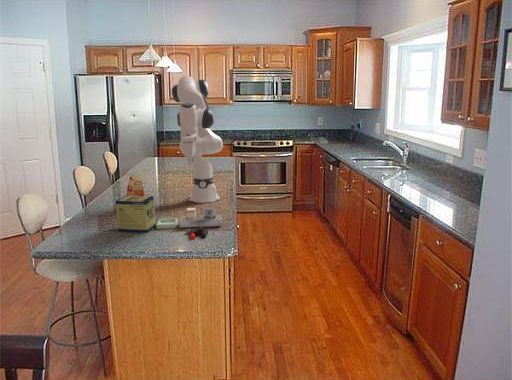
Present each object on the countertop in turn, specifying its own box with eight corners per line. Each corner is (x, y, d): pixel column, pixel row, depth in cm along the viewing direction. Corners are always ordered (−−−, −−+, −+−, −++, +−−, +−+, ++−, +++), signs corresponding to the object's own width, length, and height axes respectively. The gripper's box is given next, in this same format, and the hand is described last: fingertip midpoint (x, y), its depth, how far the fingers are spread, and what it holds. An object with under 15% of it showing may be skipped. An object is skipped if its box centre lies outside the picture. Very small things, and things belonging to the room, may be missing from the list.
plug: (188, 223, 220) (187, 208, 218) (196, 223, 220) (195, 207, 218) (187, 225, 216) (186, 210, 214) (195, 225, 216) (194, 210, 214)
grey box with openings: (181, 223, 222) (180, 207, 220) (221, 222, 222) (220, 205, 220) (178, 232, 208) (177, 214, 206) (220, 230, 209) (219, 213, 207)
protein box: (148, 232, 209) (145, 201, 205) (117, 231, 211) (114, 200, 208) (156, 226, 219) (154, 195, 215) (127, 225, 221) (124, 195, 218)
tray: (160, 222, 224) (159, 218, 224) (177, 221, 224) (177, 218, 224) (156, 228, 214) (156, 224, 214) (175, 228, 215) (174, 224, 214)
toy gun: (186, 232, 208) (185, 223, 207) (210, 234, 206) (209, 224, 204) (178, 239, 199) (177, 229, 198) (203, 241, 196) (202, 230, 195)
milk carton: (134, 210, 247) (131, 176, 243) (125, 208, 253) (122, 174, 249) (148, 207, 254) (145, 173, 249) (139, 204, 260) (136, 171, 255)
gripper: (185, 134, 230) (187, 160, 233) (180, 139, 210) (182, 167, 213) (197, 134, 230) (199, 160, 233) (193, 138, 210) (195, 167, 213)
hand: (191, 163), depth 223 cm, fingers open, 8 cm apart
